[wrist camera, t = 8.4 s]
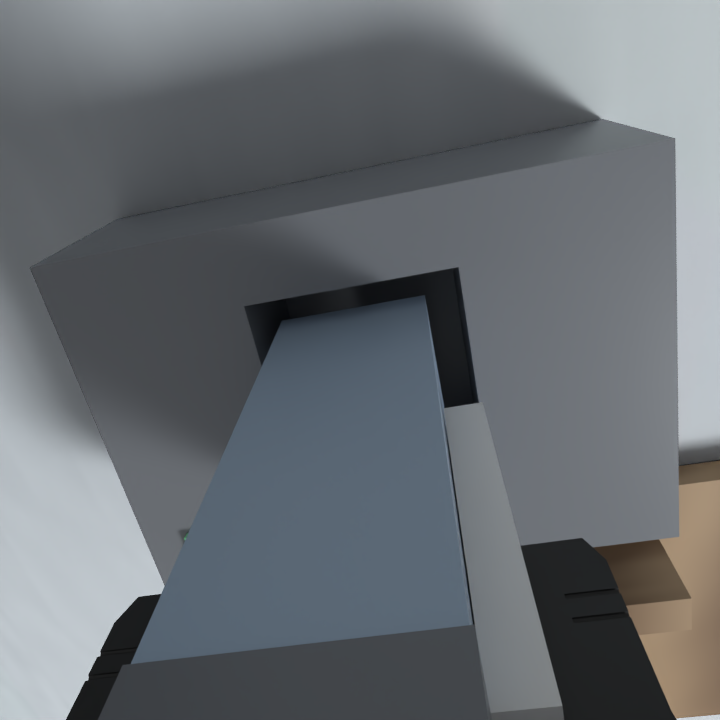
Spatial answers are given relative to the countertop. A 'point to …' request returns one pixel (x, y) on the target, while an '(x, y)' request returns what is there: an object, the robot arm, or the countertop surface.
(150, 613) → the robot arm
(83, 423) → the countertop surface
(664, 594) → the holster
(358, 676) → the plug
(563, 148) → the port box
